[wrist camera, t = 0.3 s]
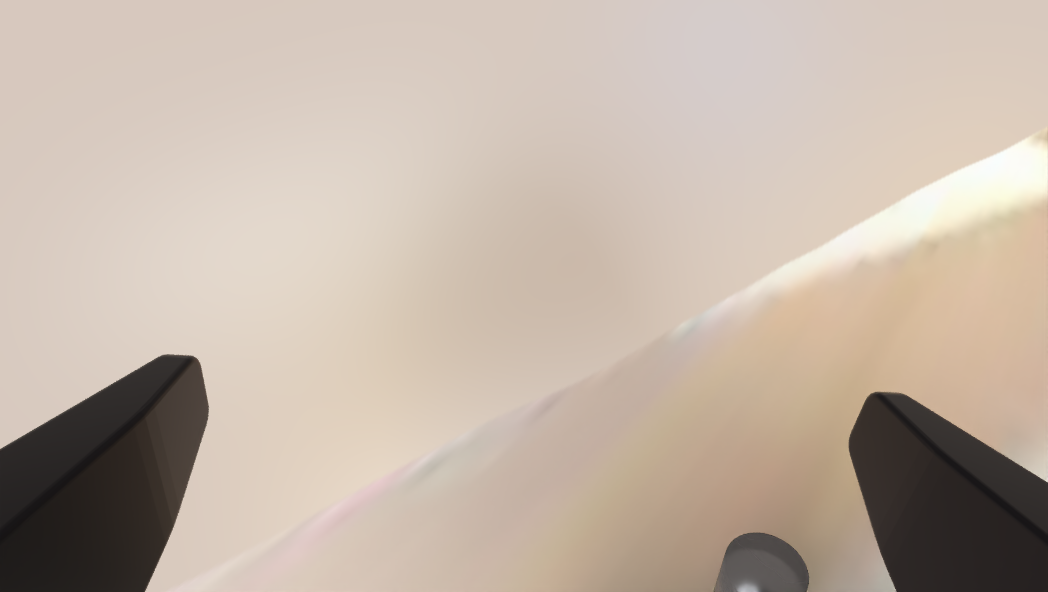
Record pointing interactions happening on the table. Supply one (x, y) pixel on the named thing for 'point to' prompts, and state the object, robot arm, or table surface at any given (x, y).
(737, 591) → the spacer field
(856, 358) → the table surface
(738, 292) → the table surface
